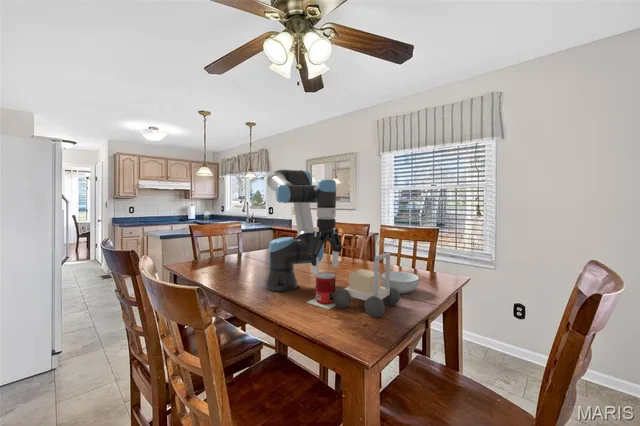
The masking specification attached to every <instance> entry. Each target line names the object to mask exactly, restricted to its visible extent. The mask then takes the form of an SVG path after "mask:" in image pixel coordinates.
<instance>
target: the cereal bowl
mask: <svg viewBox="0 0 640 426" xmlns="http://www.w3.org/2000/svg"><path fill="white" fill-rule="evenodd" d="M380 280H381V283H382V285H383V287H385V282H386V272H383V273H382V274H381V275H380ZM419 281H420V277H419V276H418V275H417V274H415V273H412V272H406V271H398V270H397V271H393V270H392V271H390V287H394V288H396V289H397V290H398V291H399V293H400V295H402V294H408V293H409V292H412V291H414V290H416V289H417V288H418V286H419V285H420V284H419V283H420V282H419Z"/></svg>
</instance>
